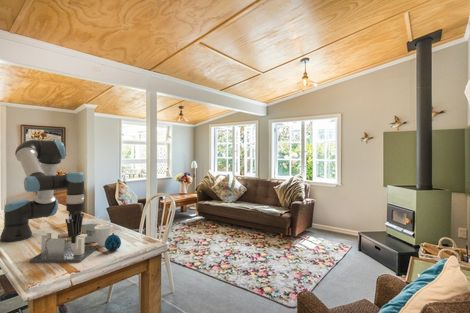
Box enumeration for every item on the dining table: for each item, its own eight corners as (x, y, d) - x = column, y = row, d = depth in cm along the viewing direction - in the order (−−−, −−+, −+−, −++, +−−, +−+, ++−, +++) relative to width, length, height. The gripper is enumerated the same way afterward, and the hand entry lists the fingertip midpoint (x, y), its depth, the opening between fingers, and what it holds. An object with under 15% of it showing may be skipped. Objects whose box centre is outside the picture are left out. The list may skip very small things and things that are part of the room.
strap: (45, 241, 134) (45, 240, 134) (47, 240, 136) (47, 238, 136) (80, 240, 136) (80, 239, 136) (82, 239, 138) (82, 237, 138)
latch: (73, 255, 133) (73, 238, 133) (80, 250, 139) (80, 234, 139) (81, 255, 133) (81, 238, 133) (87, 250, 139) (87, 234, 139)
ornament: (104, 253, 140) (104, 235, 140) (104, 250, 144) (105, 232, 144) (120, 251, 143) (121, 233, 143) (120, 248, 148) (121, 231, 147)
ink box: (83, 239, 161) (83, 220, 160) (98, 237, 164) (98, 219, 164) (81, 243, 153) (81, 224, 153) (97, 242, 156) (97, 223, 156)
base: (29, 262, 126) (30, 240, 126) (53, 248, 144) (53, 229, 144) (80, 262, 128) (80, 240, 128) (96, 248, 146) (97, 229, 146)
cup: (98, 241, 157) (98, 224, 157) (115, 241, 158) (115, 224, 157) (90, 248, 147) (91, 229, 147) (108, 247, 148) (108, 229, 147)
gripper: (76, 205, 123) (75, 253, 124) (89, 200, 136) (88, 244, 137) (59, 205, 123) (59, 253, 123) (74, 200, 136) (74, 244, 136)
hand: (74, 248), depth 130 cm, fingers closed
